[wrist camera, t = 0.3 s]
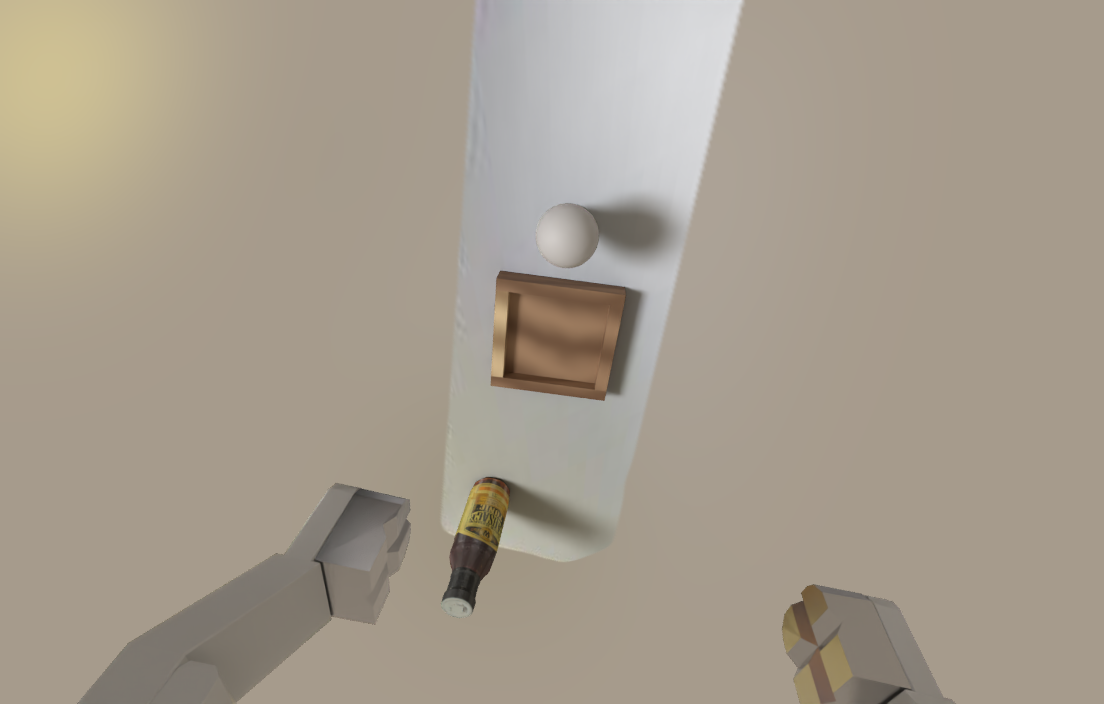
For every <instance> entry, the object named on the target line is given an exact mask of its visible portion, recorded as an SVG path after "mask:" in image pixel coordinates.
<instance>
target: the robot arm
mask: <svg viewBox="0 0 1104 704" xmlns="http://www.w3.org/2000/svg"><path fill="white" fill-rule="evenodd" d="M409 512H410V500H409V499H405V498H401V497H396V496H392V495H388V494H383V493H379V492H374V491H369V490H365V489H362V488H358V487H353V486H348V485H344V484H339V483H335V484H334V485H333V486H332V487H330V488H329V489H328V491H327V492H326V493H325V495H324V496H323V498H322V499H321V501H320V502H319V503H318V505H317V506H316V508H315V510H314V511H313V512H312V514H311V515H310V517H309V518H308V520H307V521H306V523H305V524H304V526H303V527H302V529H301V530H300V532H299V533H298V535H297V536H296V537H295V539H294V540H293V542H292V543H291V545H290V546H289V548H288V549H287V551H286V552H285V554H284V555H283V554H278V553H276V554H274V555H273V556H271V557H269V558H268V559H266V560H264V561H263V562H261V563H259V564H258V565H256V566H254V567H253V568H251V569H249V570H248V571H246V572H244V573H243V574H241V575H240V576H238V577H236V578H235V579H233V580H231V581H230V582H228V583H227V584H225V585H223V586H222V587H220V588H218V589H216V590H215V591H213V592H212V593H210V594H208V595H206V596H205V597H203V598H202V599H200V600H198V601H197V602H195V603H193V604H192V605H190V606H188V607H187V608H185V609H183V610H182V611H180V612H178V613H177V614H175V615H173V616H172V617H170V618H169V619H167V620H165V621H164V622H162V623H160V624H159V625H157V626H155V627H154V628H152V629H150V630H149V631H147V632H146V633H144V634H142V635H141V636H139V637H137V638H136V639H134V640H132V641H131V642H129V643H128V644H127V645H126V646H125V647H124V649H123V650H122V651H121V652H120V653H119V655H118V656H117V657H116V658H115V659H114V660H113V662H112V663H111V664H110V665H109V666H108V668H107V669H106V670H105V671H104V672H103V674H102V675H101V676H100V677H99V678H98V680H97V681H96V682H95V683H94V684H93V685H92V687H91V688H90V689H89V690H88V691H87V693H86V694H85V695H84V696H83V697H82V698H81V700H80V701H79V702H78V703H77V704H236V702H237V701H238V700H239V699H241V698H242V697H243V696H244V695H245V694H246V693H248V692H249V691H250V690H251V689H252V688H253V687H255V686H256V685H257V684H258V683H259V682H260V681H261V680H262V679H264V678H265V677H266V676H267V675H268V674H270V673H271V672H272V671H273V670H274V669H275V668H276V667H278V666H279V665H280V664H281V663H282V662H283V661H284V660H286V659H287V658H288V657H289V656H290V655H291V654H292V653H294V652H295V651H296V650H297V649H298V648H299V647H301V645H303V644H304V643H305V642H306V641H308V640H309V639H310V638H311V637H312V636H313V635H314V634H315V633H317V632H318V631H319V630H320V629H321V628H323V627H324V626H325V625H326V624H327V623H328V622H329V621H331V617H337V618H342V619H347V620H352V621H358V622H363V623H368V624H374V625H375V624H376V621H377V619H378V617H379V615H380V612H381V610H382V608H383V605H384V603H385V601H386V599H387V596H388V594H389V592H390V587H389V577H390V576H391V575H393V574H394V573H396V572H397V571H398V570H399V569H400V566H401V564H402V562H403V559H404V557H405V554H406V550H407V547H408V543H409V539H410V531H411V528H410V527H411V524H410V523H409V521H408V520H407V519H406V518H407V516H408V514H409ZM801 594H802V598H803V601H801V602H798V603H796V604H792V605H791V606H790V607H789V609H788V610H787V611H786V613H785V614H784V620H783V626H782V632H783V641H784V645H785V649H786V653H787V655H788V656H789V657H790V659H791V660H792V661H793V662H794V664H795V665H796V666H797V667H798V669H797V672H796V674H795V676H794V683H795V687H796V690H797V694H798V698H799V702H800V704H956V703H955V702H954V701H953V700H952V699H948V698H944V697H943V695H942V693H941V691H940V689H939V687H938V686H937V683H936V681H935V679H934V677H933V675H932V673H931V671H930V669H929V667H928V665H927V663H926V661H925V659H924V657H923V655H922V653H921V651H920V649H919V647H918V645H917V643H916V641H915V639H914V637H913V635H912V633H911V631H910V629H909V627H908V625H907V623H906V621H905V619H904V617H903V615H902V613H901V611H900V609H899V608H898V607H897V605H896V604H895V603H894V602H892V601H889V600H886V599H882V598H876V597H871V596H866V595H862V594H860V593H855V592H850V591H845V590H839V589H834V588H830V587H825V586H819V585H814V584H813V585H809V586H807V587H806V588H805V589H804V590H803V591H802V592H801Z"/></svg>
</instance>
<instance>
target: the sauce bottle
mask: <svg viewBox="0 0 1104 704" xmlns="http://www.w3.org/2000/svg"><path fill="white" fill-rule="evenodd" d="M509 496H510V491H509V489H508V487H507V486H506V484H505V483H504V482H502V481H501V480H498V479H495V478H490V477H489V478H488V477H486V478H483V479H481V480H479V481H477V482H476V483H475V484H474V486H473V488H472V490H471V492H470V494H469V497H468V500H467V503H466V506H465V509H464V512H463V515H462V518H461V521H460V524H459V526H458V529H457V532H456V535H455V538H454V543H453V546H452V549H451V551H450V565H451V568H452V574H451V579H450V582H449V585H448V588H447V591H446V592H445V593H444V595H443V599H442V603H441V607H442V609H443V611H444V612H446V613H447V614H448V615H451V616H453V617H457V618H462V617H468V616H469V615H470V614H472V612H473V609H474V606H475V603H476V602H475V597H476V592H477V589H478V586H479V584H480V581H481V580H482V579H483V578H484V577H485V575H487V574H488V572H489V571H490V568H491V566H492V563H493V561H494V558H495V555H496V553H497V549H498V545H499V541H500V537H501V533H502V529H503V525H504V521H505V517H506V513H507V509H508V505H509Z"/></svg>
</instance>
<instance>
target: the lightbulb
mask: <svg viewBox="0 0 1104 704" xmlns="http://www.w3.org/2000/svg"><path fill="white" fill-rule="evenodd" d="M598 241H599V231H598V226H597V223H596V221H595V219H594V217H593V216H592V215H591V214H590V212H589V211H587V210H586V209H585V208H583V207H581V206H579V205H575V204H569V203H565V204H559V205H556V206H554V207H552V208H550V209H549V210H548V211H546V212H545V213H544V214H543V216H542V217H541V219H540V221H539V223H538V225H537V229H536V242H537V246H538V249H539V251H540V253H541V254H542V256H543V257H544V258H545V259H546V260H547V261H548V262H550V263H551V264H553V265H555V266H557V267H561V268H573V267H577V266H580V265H582V264H583V263H585V262H586V261H587V260H589V259H590V257H591V256H592V255H593V254H594V252H595V250H596V248H597V245H598Z"/></svg>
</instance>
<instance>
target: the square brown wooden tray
mask: <svg viewBox="0 0 1104 704" xmlns="http://www.w3.org/2000/svg"><path fill="white" fill-rule="evenodd" d="M625 298H626V292H625V287H620V286H612V285H605V284H597V283H590V282H582V281H574V280H567V279H559V278H551V277H544V276H536V275H529V274H521V273H513V272H506V271H500V272H499V274H498V276H497V279H496V297H495V316H494V334H493V353H492V371H491V386H498V387H505V388H513V389H520V390H528V391H535V392H543V393H550V394H558V395H565V396H573V397H580V398H588V399H595V400H603V401H604V400H605V395H606V390H607V385H608V381H609V376H610V371H611V366H612V361H613V356H614V351H615V346H616V342H617V337H618V332H619V327H620V322H621V317H622V312H623V307H624V303H625Z"/></svg>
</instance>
